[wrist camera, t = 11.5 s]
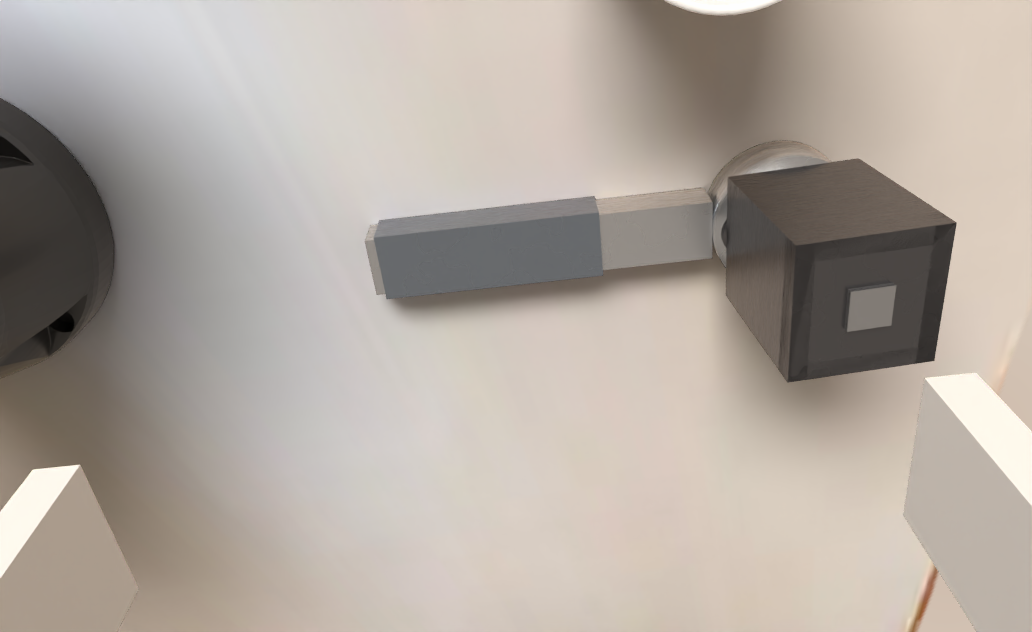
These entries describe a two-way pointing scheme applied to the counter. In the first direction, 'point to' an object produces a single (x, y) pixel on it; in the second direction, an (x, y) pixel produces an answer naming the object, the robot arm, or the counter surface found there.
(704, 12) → the mug
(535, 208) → the ratchet
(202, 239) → the counter surface
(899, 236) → the socket
